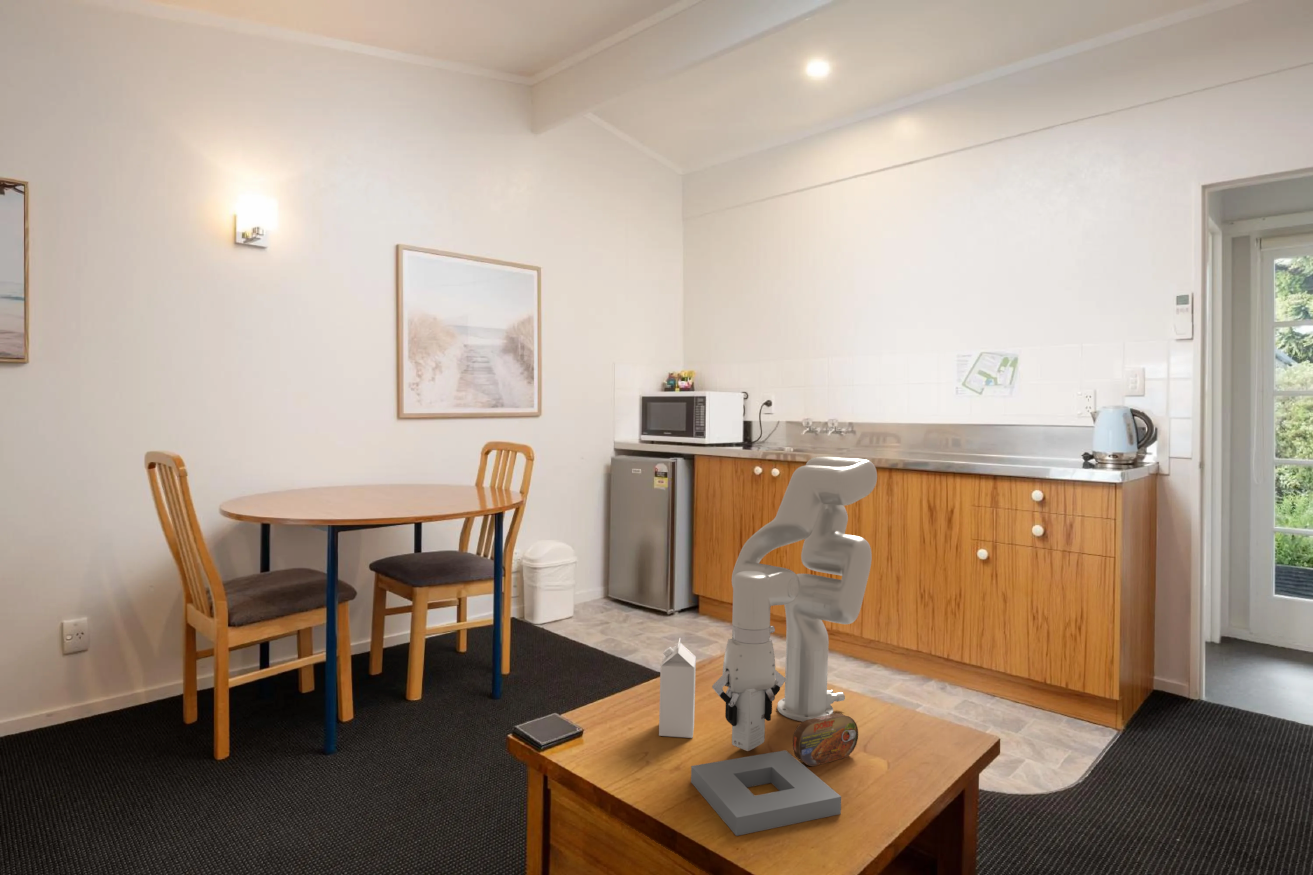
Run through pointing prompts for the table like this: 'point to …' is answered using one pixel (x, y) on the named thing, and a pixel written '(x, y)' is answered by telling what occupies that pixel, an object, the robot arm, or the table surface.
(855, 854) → the table surface
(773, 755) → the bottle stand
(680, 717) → the milk carton
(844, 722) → the tin
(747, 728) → the skincare box
